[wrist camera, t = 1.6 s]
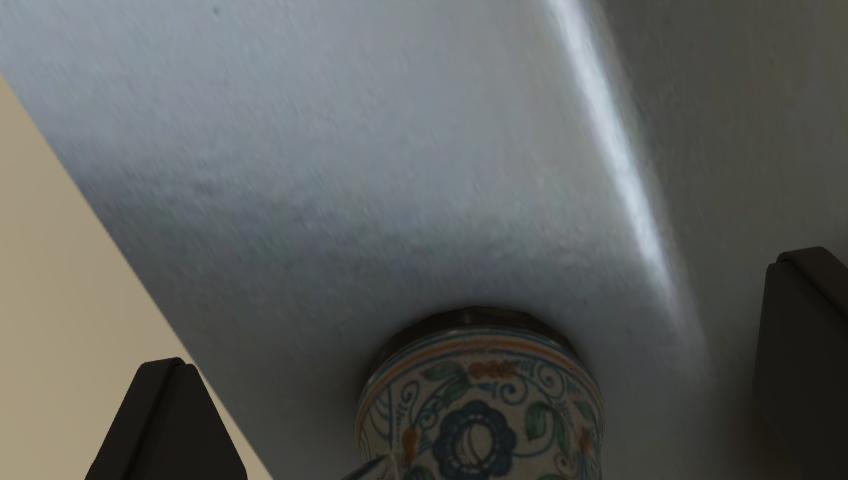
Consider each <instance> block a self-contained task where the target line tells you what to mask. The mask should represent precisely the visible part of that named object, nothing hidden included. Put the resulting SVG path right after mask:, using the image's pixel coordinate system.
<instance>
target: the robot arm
mask: <svg viewBox="0 0 848 480" xmlns="http://www.w3.org/2000/svg"><path fill="white" fill-rule="evenodd" d="M753 394H754V398H755V401H756V404H757V406H758V408H759V410H760V411H761V413H762V414H763V416H764V417H765V419H766V420H767V422H768V423H769V425H770V426H771V428H772V429H773V431H774V432H775V434H776V435H777V437H778V438H779V440H780V441H781V443H782V445H783V446H784V448H785V449H786V451H787V452H788V454H789V455H790V457H791V458H792V460H793V461H794V463H795V464H796V466H797V467H798V469H799V470H800V472H801V473H802V475H803V476H804V478H805V479H806V480H848V268H847V267H845V266H844V265H843V264H842V263H841V262H840V261H839V260H838V259H837V258H836V257H835V256H833V255H832V254H831V253H830V252H829V251H828V250H827V249H825V248H824V247H819V246H817V247H811V248H806V249H800V250H794V251H788V252H783V253H781V254H780V255H779V256H778V258H777V261H776V263H773V264H770V265H769V266H768V268H767V272H766V279H765V287H764V296H763V304H762V312H761V321H760V329H759V337H758V346H757V354H756V362H755V371H754V379H753ZM85 480H248V479H247V473H246V469H245V467H244V465H243V463H242V461H241V459H240V456H239V454H238V452H237V450H236V448H235V446H234V444H233V442H232V440H231V438H230V436H229V434H228V432H227V430H226V428H225V426H224V424H223V422H222V420H221V418H220V416H219V413H218V411H217V409H216V407H215V405H214V403H213V401H212V399H211V397H210V395H209V393H208V391H207V389H206V387H205V385H204V383H203V381H202V379H201V377H200V375H199V373H198V370H197V369H196V367H195V366H194V365H193V364H185V362H184V361H183V360H182V359H181V358H179V357H174V358H168V359H163V360H156V361H151V362H145V363H143V364H141V366H140V367H139V368H138V370H137V372H136V374H135V377H134V379H133V381H132V383H131V385H130V387H129V389H128V391H127V393H126V395H125V397H124V400H123V402H122V404H121V406H120V408H119V410H118V412H117V414H116V417H115V418H114V421H113V423H112V425H111V427H110V429H109V431H108V433H107V435H106V437H105V440H104V442H103V444H102V446H101V448H100V450H99V452H98V454H97V457H96V459H95V460H94V462H93V463H92V465H91V467H90V469H89V471H88V473H87V475H86V477H85Z"/></svg>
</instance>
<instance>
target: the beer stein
mask: <svg viewBox="0 0 848 480" xmlns="http://www.w3.org/2000/svg"><path fill="white" fill-rule="evenodd" d="M604 431H605V410H604V403H603V399H602V394H601V392H600V389H599V387H598V384H597V382H596V380H595V378H594V377H593V375H592V374H591V372H590V371H589V370H588V369H587V367H586V366H585V365H584V364H583V363H582V362H581V361H580V359H579V357H578V356H577V354H576V352H575V351H574V349H573V347H572V346H571V344H570V342H569V341H568V339H567V338H566V337H564V336H562V335H561V334H559V333H558V332H556V331H555V330H553V329H551V328H550V327H548V326H547V325H545V324H544V323H542V322H541V321H539V320H537V319H536V318H534V317H533V316H531V315H530V314H528V313H522V312H514V311H507V310H499V309H491V308H483V307H476V306H475V307H470V308H465V309H460V310H455V311H450V312H446V313H441V314H436V315H432V316H430V317H428V318H426V319H424V320H423V321H421V322H419V323H417V324H415V325H413V326H412V327H410V328H408V329H406V330H404V331H402V332H401V333H399V334H397V335H395V336H393V338H392V339H391V340H390V342H389V343H388V345H387V346H386V347H385V349H384V350H383V351H382V353H381V354H380V356H379V357H378V358H377V360H376V361H375V362H374V364H373V365H372V367H371V368H370V369H369V371H368V375H367V379H366V383H365V387H364V389H363V391H362V393H361V396H360V399H359V401H358V404H357V408H356V413H355V424H354V434H355V441H356V446H357V451H358V454H359V456H360V459H361V462H362V464H363V466H361V467H360V468H358V469H357V470H355V471H353V472H352V473H350V474H349V475H347V476H346V477H344V478H343V479H341V480H602V475H601V446H602V441H603V437H604Z"/></svg>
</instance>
